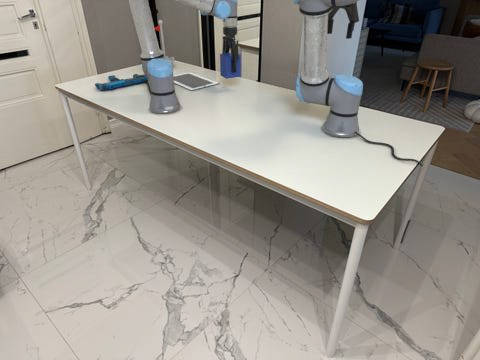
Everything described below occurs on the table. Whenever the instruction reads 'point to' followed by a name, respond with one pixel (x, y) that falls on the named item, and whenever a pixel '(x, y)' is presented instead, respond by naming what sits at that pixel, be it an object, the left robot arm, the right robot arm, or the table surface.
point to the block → (229, 66)
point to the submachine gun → (121, 82)
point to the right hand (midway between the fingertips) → (338, 36)
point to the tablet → (192, 81)
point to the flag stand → (159, 28)
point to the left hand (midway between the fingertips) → (230, 70)
